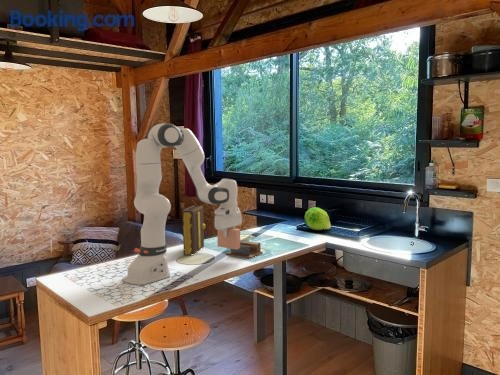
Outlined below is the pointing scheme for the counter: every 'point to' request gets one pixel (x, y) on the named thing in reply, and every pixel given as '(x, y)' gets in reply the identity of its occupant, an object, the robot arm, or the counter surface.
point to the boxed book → (229, 239)
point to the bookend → (242, 250)
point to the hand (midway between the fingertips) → (228, 235)
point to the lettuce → (317, 219)
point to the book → (193, 229)
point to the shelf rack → (254, 249)
